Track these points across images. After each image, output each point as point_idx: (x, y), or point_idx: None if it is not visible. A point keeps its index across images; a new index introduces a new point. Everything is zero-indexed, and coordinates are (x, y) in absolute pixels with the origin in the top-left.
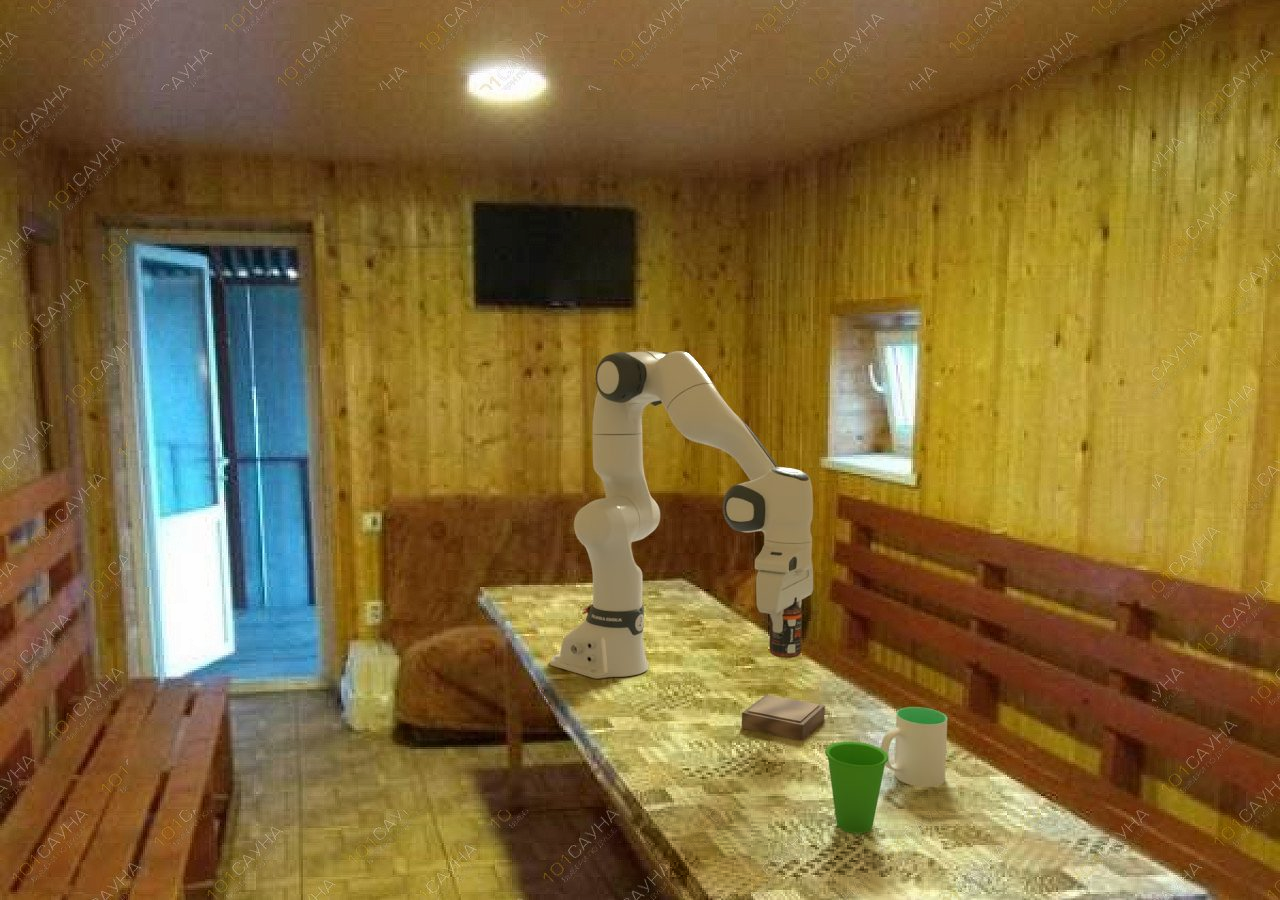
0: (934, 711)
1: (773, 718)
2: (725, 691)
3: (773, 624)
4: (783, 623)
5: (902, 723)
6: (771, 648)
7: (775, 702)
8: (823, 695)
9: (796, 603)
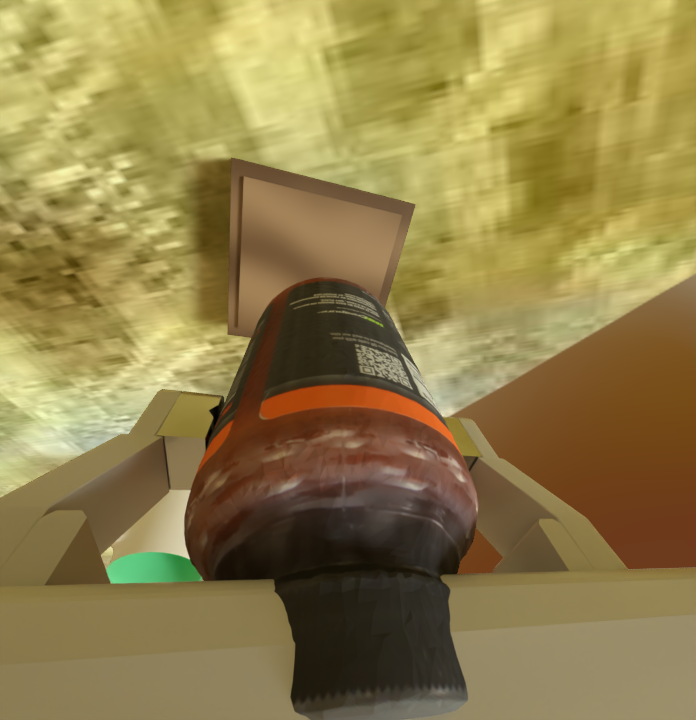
0: (198, 578)
1: (232, 262)
2: (542, 19)
3: (136, 426)
4: (179, 485)
5: (115, 553)
6: (274, 302)
7: (344, 246)
8: (515, 313)
9: (505, 572)
